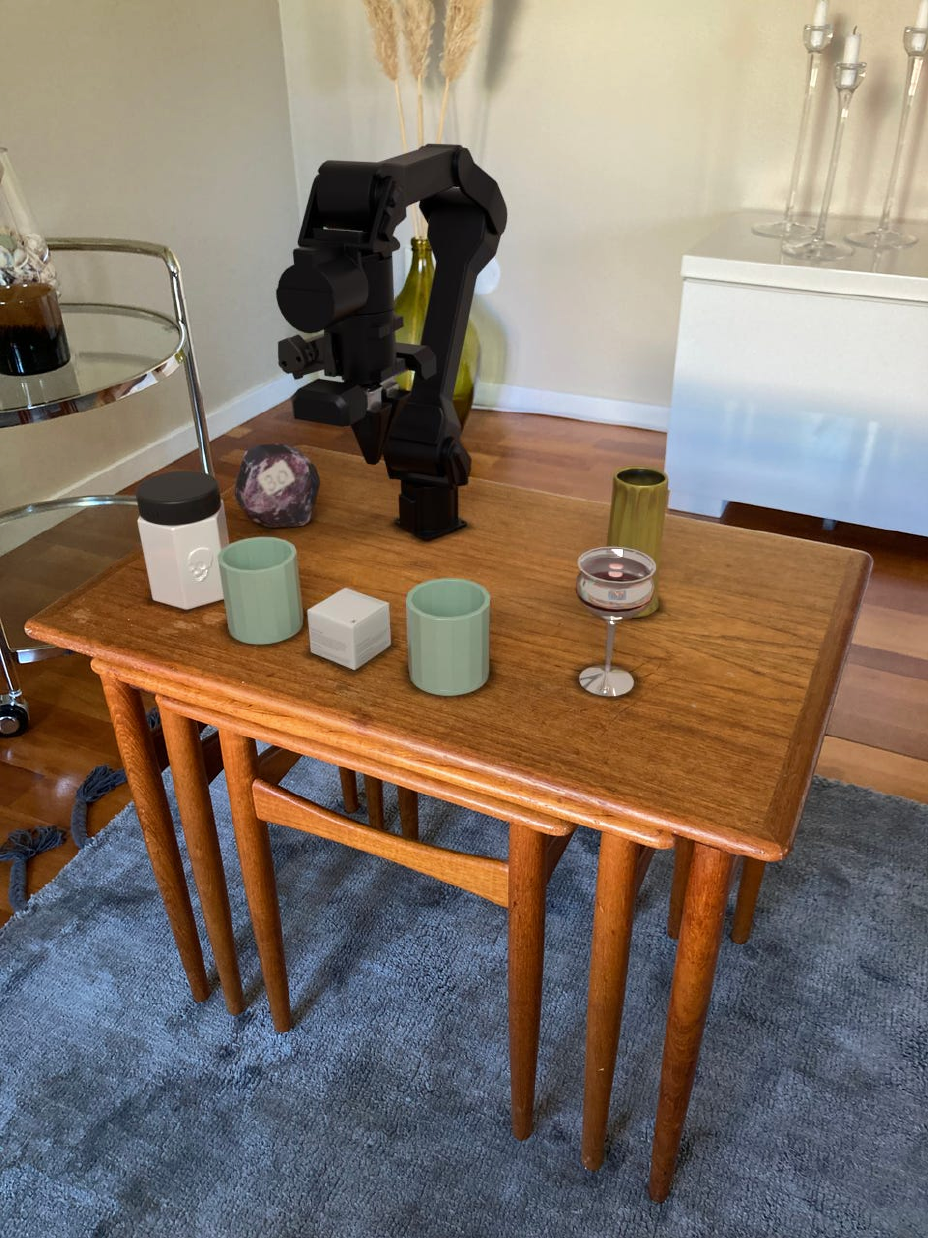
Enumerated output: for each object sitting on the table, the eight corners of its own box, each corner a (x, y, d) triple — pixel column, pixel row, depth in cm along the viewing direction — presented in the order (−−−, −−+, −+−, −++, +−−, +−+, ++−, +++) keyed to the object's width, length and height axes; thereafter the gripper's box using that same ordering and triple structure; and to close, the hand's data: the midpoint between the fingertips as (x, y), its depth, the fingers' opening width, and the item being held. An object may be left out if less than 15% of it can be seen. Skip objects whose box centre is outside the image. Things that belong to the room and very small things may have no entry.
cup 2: (454, 642, 93) (453, 569, 89) (505, 675, 89) (507, 600, 84) (393, 670, 89) (389, 595, 85) (443, 706, 84) (442, 628, 80)
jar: (166, 618, 97) (145, 510, 91) (141, 585, 103) (120, 481, 97) (249, 594, 102) (234, 489, 95) (220, 563, 107) (205, 463, 101)
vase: (664, 596, 101) (680, 469, 94) (648, 624, 96) (663, 492, 89) (608, 585, 103) (619, 459, 96) (590, 611, 98) (600, 481, 91)
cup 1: (279, 598, 101) (271, 530, 97) (317, 627, 96) (310, 555, 92) (215, 622, 97) (203, 551, 93) (251, 653, 92) (241, 579, 88)
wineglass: (656, 694, 86) (671, 576, 80) (586, 707, 84) (595, 588, 78) (624, 655, 91) (635, 541, 85) (558, 666, 90) (564, 552, 84)
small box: (393, 645, 93) (390, 601, 90) (354, 672, 89) (351, 627, 86) (348, 627, 96) (344, 584, 93) (308, 653, 92) (304, 609, 89)
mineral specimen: (215, 523, 112) (221, 436, 111) (261, 522, 122) (267, 442, 121) (289, 533, 109) (296, 444, 108) (330, 531, 119) (337, 450, 118)
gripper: (342, 280, 101) (351, 424, 109) (234, 321, 86) (254, 483, 94) (437, 290, 97) (439, 438, 105) (340, 334, 82) (352, 502, 90)
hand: (372, 463), depth 99 cm, fingers closed
